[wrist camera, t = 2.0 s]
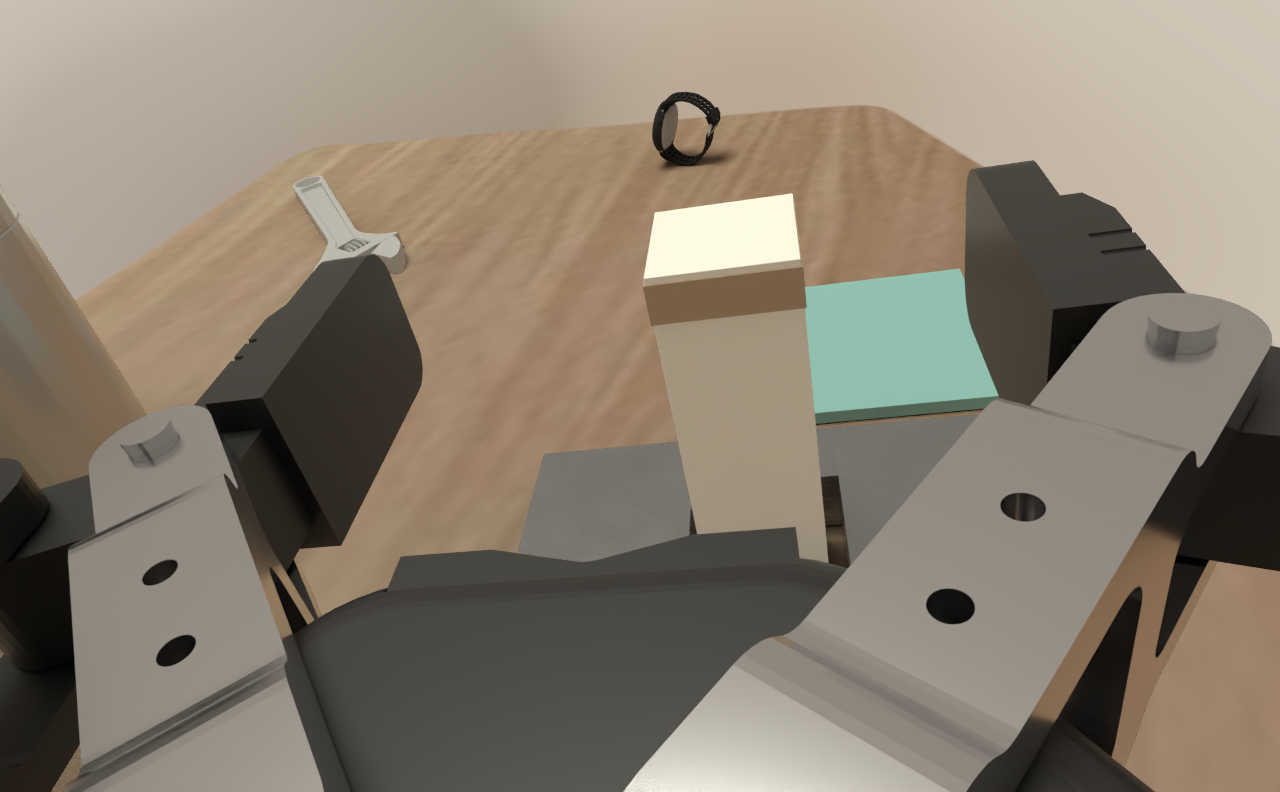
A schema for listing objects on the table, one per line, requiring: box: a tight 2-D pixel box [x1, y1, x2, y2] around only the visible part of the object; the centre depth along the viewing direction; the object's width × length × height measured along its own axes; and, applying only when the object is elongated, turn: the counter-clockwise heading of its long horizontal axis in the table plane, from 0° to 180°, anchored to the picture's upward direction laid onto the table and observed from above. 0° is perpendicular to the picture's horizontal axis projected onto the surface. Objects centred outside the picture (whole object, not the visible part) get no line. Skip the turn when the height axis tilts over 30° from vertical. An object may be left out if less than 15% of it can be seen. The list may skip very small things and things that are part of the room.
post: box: [643, 194, 829, 563], centre depth 28 cm, size 4×4×14 cm
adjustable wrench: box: [293, 176, 406, 274], centre depth 68 cm, size 25×6×2 cm, turn 23°
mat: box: [805, 269, 999, 424], centre depth 43 cm, size 11×11×1 cm
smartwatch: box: [652, 92, 720, 166], centre depth 65 cm, size 4×5×5 cm
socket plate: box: [518, 414, 979, 568], centre depth 31 cm, size 18×11×2 cm, turn 85°
